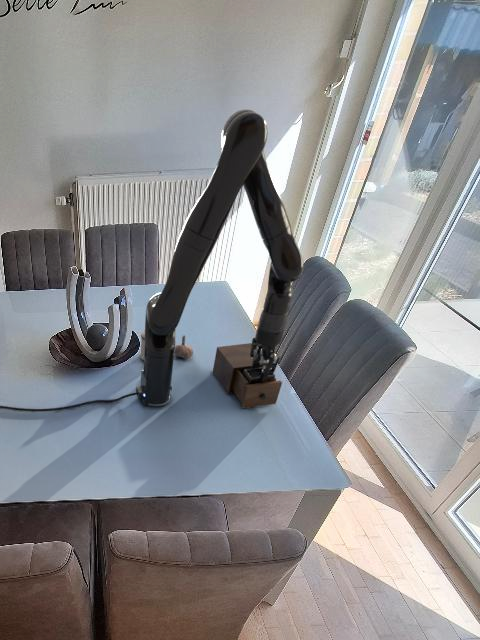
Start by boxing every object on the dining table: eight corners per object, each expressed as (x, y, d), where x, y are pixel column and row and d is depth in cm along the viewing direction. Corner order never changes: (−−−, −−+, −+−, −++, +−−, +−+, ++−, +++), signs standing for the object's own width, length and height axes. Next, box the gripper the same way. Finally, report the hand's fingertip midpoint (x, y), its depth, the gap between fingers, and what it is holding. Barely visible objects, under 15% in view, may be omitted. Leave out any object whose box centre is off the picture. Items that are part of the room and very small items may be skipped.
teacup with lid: (145, 365, 168) (146, 334, 160) (136, 353, 174) (137, 323, 166) (175, 359, 171) (178, 329, 162) (165, 348, 177) (168, 318, 168)
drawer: (277, 405, 147) (284, 384, 141) (244, 410, 146) (249, 388, 140) (257, 382, 157) (263, 361, 151) (226, 386, 155) (230, 365, 150)
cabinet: (263, 389, 155) (270, 363, 148) (228, 394, 154) (233, 367, 147) (245, 368, 165) (251, 342, 158) (212, 372, 164) (216, 346, 157)
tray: (249, 385, 143) (251, 378, 141) (242, 376, 147) (244, 369, 145) (273, 382, 144) (275, 375, 142) (265, 373, 148) (267, 366, 146)
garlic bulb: (169, 353, 174) (171, 333, 168) (186, 350, 175) (189, 329, 170) (177, 362, 169) (180, 341, 163) (195, 359, 170) (198, 338, 165)
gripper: (249, 316, 137) (237, 368, 150) (270, 338, 127) (256, 391, 140) (272, 313, 138) (259, 365, 150) (295, 335, 128) (279, 388, 141)
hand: (258, 377), depth 145 cm, fingers closed on tray, 5 cm apart
